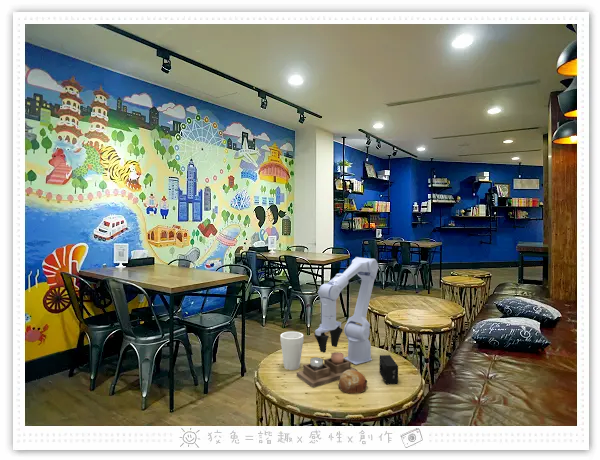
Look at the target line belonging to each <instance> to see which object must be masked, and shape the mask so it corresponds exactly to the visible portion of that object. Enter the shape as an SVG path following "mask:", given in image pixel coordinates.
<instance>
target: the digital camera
mask: <svg viewBox="0 0 600 460" xmlns="http://www.w3.org/2000/svg"><path fill="white" fill-rule="evenodd" d="M379 374H380V375H381V378H382V379H383V381H384V382H385V384H386V385H399V365H398V363H397V362H396V361H395V360H394V359H393V357H392V356H391V355H390V354H386V355H385V354H382V355H381V354H380V355H379Z"/></svg>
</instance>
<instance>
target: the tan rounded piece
mask: <svg viewBox="0 0 600 460" xmlns="http://www.w3.org/2000/svg"><path fill="white" fill-rule="evenodd" d="M344 357H345V356H344V353H342V352H337V351H336V352H332V353H331V354H330V358H331V362H332V363H333V364H336V365H338V364H342V363H343V360H344Z"/></svg>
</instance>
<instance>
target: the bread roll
mask: <svg viewBox="0 0 600 460" xmlns="http://www.w3.org/2000/svg"><path fill="white" fill-rule="evenodd" d="M367 385H368V380H367V378H366V376H365V375H363V373H361V372H359V371H358V370H357V371H354V370H350V369H349V370H346V371H344V372H343V373H342V374H341V376H340V380H338V384H337V386H338V388H339V389H340V391H342V392H343V393H346V394H361V393H363V392H365V391H366V390H367Z"/></svg>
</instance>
